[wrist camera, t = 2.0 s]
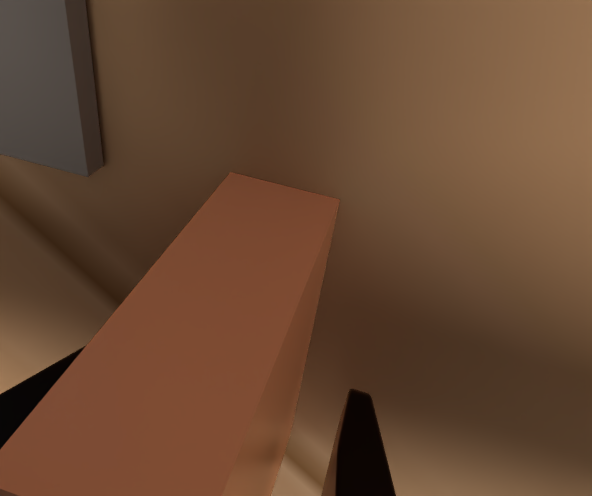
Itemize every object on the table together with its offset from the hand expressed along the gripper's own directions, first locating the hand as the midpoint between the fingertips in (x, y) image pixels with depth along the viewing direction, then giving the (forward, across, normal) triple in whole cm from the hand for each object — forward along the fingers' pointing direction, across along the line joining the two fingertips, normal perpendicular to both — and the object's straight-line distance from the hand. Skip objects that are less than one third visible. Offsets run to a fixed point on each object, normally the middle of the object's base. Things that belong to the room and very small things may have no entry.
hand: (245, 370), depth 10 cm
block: (+1, 0, 0) cm, 1 cm away
